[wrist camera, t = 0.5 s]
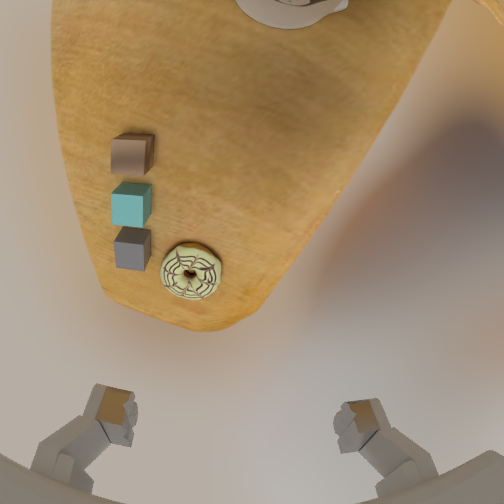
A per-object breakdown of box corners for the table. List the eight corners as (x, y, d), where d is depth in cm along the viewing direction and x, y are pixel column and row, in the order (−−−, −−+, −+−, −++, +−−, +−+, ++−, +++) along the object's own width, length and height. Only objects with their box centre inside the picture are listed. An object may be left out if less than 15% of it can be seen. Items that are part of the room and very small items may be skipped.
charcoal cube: (123, 226, 46) (113, 241, 42) (150, 229, 46) (143, 244, 42) (124, 251, 48) (116, 267, 44) (151, 254, 49) (144, 271, 45)
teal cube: (122, 182, 42) (111, 193, 37) (151, 184, 42) (142, 196, 38) (122, 210, 44) (112, 224, 40) (150, 213, 45) (142, 227, 41)
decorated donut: (230, 251, 50) (230, 263, 47) (210, 295, 55) (209, 309, 52) (171, 232, 47) (167, 243, 44) (158, 279, 52) (154, 292, 49)
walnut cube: (123, 133, 38) (111, 139, 33) (155, 134, 38) (145, 140, 34) (122, 164, 40) (110, 173, 36) (152, 166, 41) (143, 176, 37)
